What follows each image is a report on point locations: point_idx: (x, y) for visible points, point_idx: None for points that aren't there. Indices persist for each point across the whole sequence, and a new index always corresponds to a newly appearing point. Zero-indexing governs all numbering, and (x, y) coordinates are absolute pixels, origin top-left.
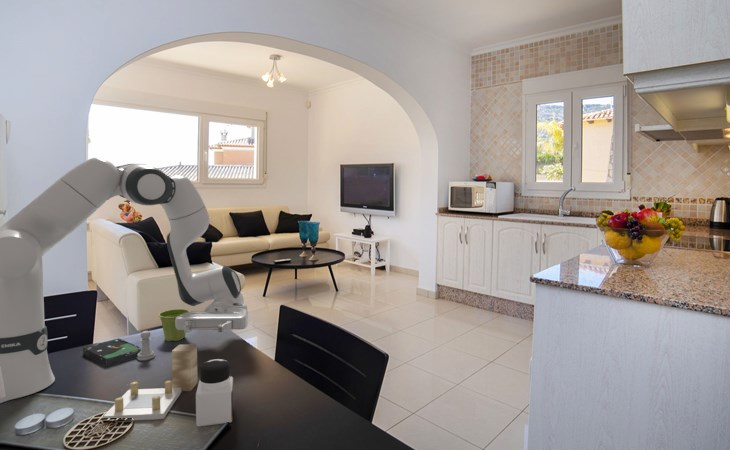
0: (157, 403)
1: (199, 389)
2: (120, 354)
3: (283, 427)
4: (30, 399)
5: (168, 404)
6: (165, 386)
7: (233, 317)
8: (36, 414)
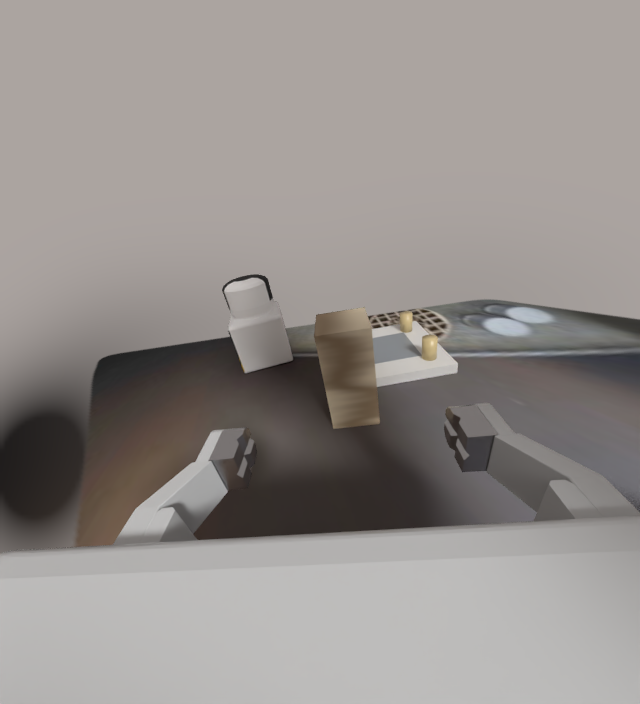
0: None
1: (274, 303)
2: None
3: (187, 355)
4: None
5: None
6: None
7: (66, 561)
8: (544, 320)
